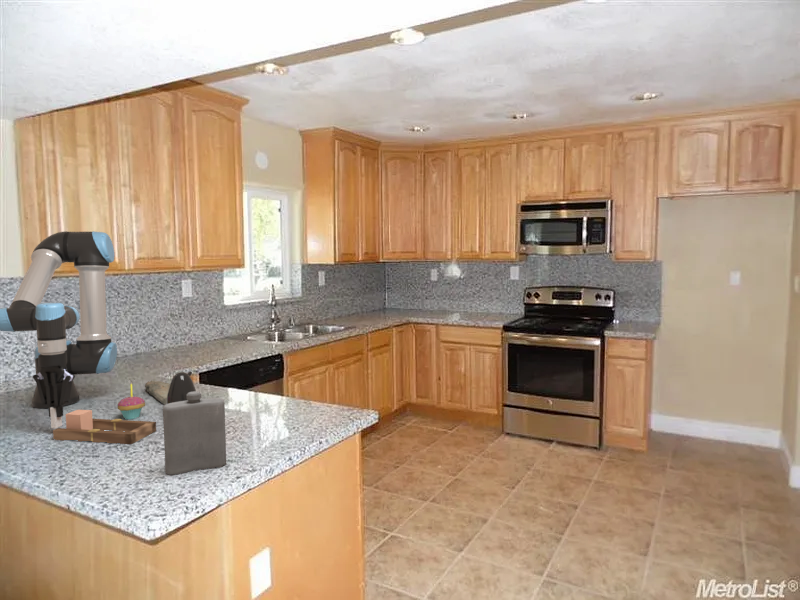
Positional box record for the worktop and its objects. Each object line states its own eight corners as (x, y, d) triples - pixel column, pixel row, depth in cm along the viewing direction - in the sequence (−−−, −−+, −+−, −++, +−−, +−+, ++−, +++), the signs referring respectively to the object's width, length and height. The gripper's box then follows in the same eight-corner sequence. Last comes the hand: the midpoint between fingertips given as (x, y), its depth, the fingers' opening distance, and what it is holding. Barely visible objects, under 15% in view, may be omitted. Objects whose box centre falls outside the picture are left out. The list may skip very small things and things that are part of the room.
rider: (78, 431, 168) (77, 409, 168) (93, 431, 168) (91, 410, 167) (66, 436, 164) (65, 414, 163) (81, 437, 163) (80, 414, 162)
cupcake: (120, 415, 185) (118, 381, 184) (146, 412, 188) (145, 379, 187) (116, 422, 177) (114, 387, 176) (144, 419, 180) (142, 384, 179)
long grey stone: (161, 412, 193) (189, 409, 199) (162, 398, 193) (190, 395, 199) (139, 388, 220) (165, 386, 227) (140, 376, 220) (165, 374, 226)
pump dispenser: (204, 411, 189) (203, 369, 187) (185, 420, 179) (184, 376, 177) (180, 409, 191) (178, 368, 190) (160, 418, 181) (158, 374, 180)
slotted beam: (83, 427, 172) (82, 417, 172) (156, 430, 168) (155, 420, 168) (53, 439, 160) (52, 429, 160) (131, 444, 156) (131, 433, 156)
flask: (224, 458, 145) (222, 387, 143) (227, 466, 140) (225, 392, 138) (165, 468, 139) (162, 393, 137) (165, 476, 134) (162, 399, 132)
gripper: (23, 354, 162) (28, 429, 164) (61, 355, 160) (66, 431, 162) (43, 350, 169) (48, 422, 171) (80, 351, 167) (84, 424, 169)
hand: (56, 426), depth 167 cm, fingers closed
